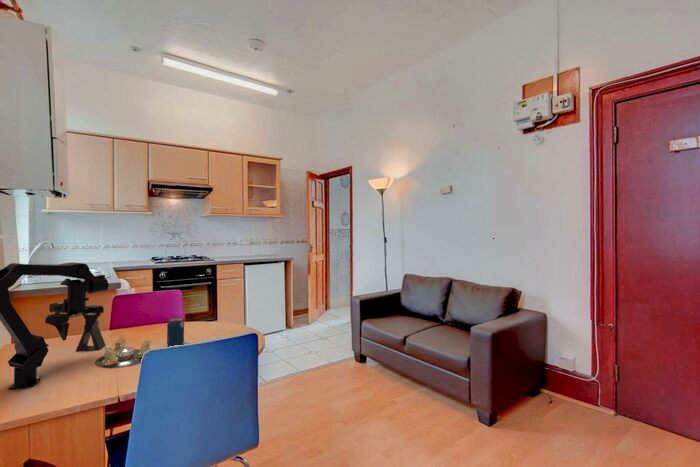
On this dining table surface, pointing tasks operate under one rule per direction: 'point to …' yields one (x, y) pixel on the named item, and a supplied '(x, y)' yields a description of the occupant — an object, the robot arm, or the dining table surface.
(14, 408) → the dining table surface
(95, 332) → the phone stand
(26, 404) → the dining table surface
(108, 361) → the wing knob
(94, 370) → the dining table surface
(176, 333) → the soda can
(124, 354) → the levelling base
